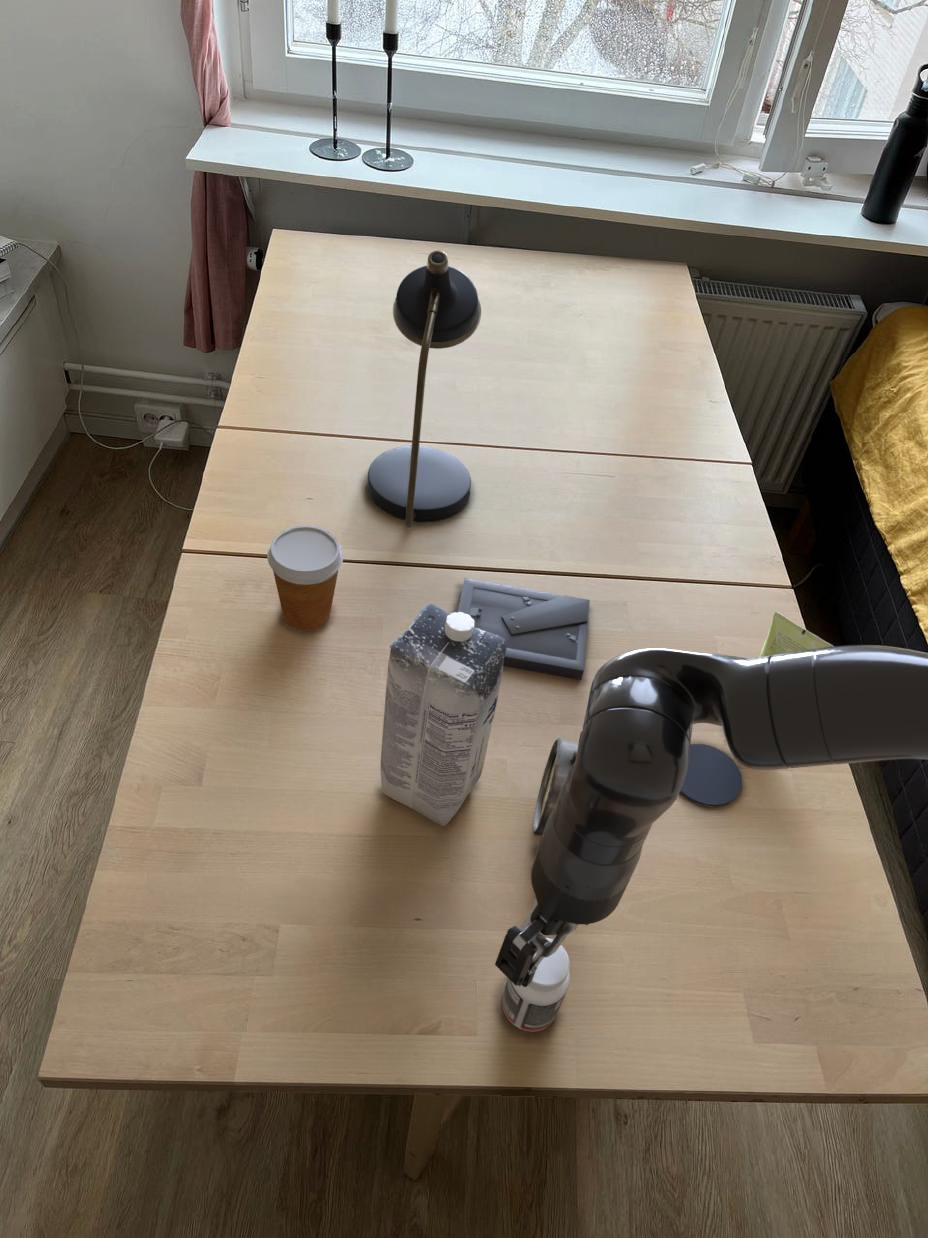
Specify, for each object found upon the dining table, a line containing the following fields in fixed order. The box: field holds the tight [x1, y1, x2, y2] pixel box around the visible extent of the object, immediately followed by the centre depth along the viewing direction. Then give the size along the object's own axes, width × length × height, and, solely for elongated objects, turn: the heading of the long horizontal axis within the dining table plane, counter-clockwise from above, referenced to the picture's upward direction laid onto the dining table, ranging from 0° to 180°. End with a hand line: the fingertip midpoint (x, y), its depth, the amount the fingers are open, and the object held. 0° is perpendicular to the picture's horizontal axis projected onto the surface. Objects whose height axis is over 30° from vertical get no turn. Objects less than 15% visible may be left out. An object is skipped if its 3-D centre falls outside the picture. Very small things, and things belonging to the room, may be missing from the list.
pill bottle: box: [501, 937, 571, 1033], centre depth 93 cm, size 6×6×10 cm
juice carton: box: [380, 603, 506, 827], centre depth 103 cm, size 9×10×27 cm
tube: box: [758, 611, 834, 657], centre depth 117 cm, size 6×5×20 cm
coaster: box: [679, 743, 743, 808], centre depth 118 cm, size 9×9×1 cm
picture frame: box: [456, 577, 591, 681], centre depth 131 cm, size 13×2×18 cm
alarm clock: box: [532, 730, 582, 837], centre depth 106 cm, size 11×5×16 cm, turn 168°
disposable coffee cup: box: [266, 524, 344, 631], centre depth 126 cm, size 10×10×12 cm
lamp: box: [366, 250, 482, 529], centre depth 136 cm, size 16×22×38 cm
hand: (550, 946), depth 87 cm, fingers open, 8 cm apart
